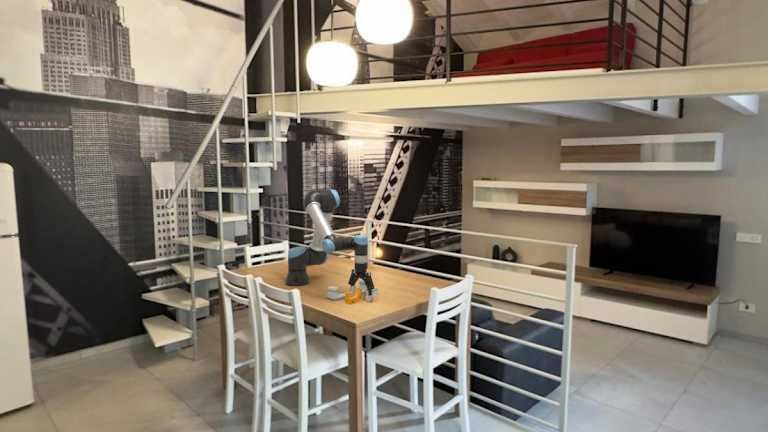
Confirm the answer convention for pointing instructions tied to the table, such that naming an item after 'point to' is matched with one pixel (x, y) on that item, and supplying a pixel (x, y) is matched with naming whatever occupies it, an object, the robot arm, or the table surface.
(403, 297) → the table surface
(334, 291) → the module
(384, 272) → the table surface
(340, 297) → the din board
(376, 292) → the module
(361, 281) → the module
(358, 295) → the orange irregular piece
